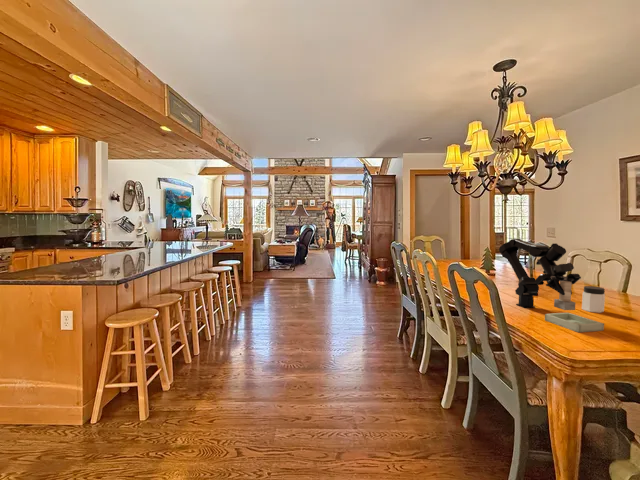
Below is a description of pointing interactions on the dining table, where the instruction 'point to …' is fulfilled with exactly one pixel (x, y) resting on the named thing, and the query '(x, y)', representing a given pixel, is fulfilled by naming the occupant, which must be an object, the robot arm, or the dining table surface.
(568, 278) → the robot arm
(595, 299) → the jar
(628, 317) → the dining table surface
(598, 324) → the tray
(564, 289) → the square pillar on base
